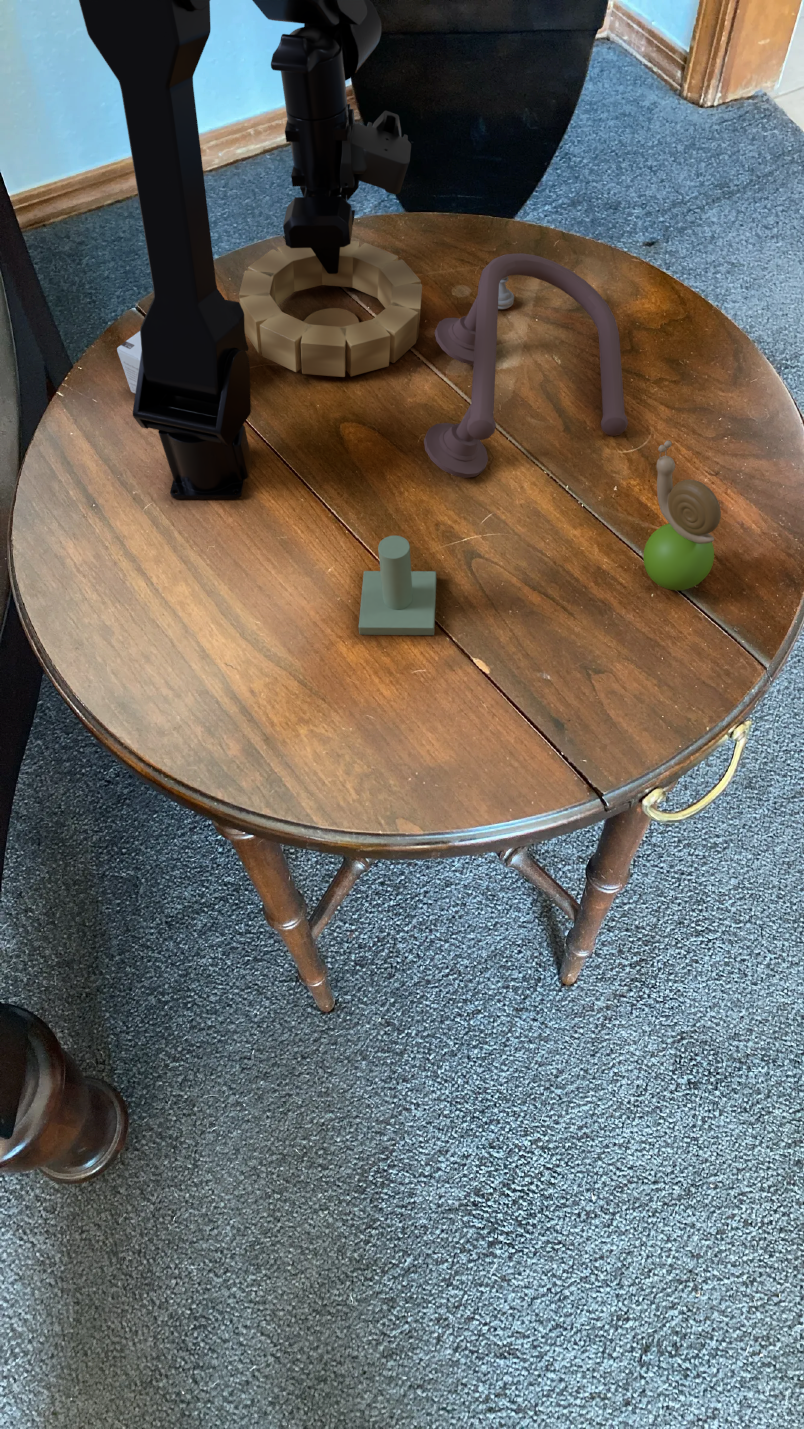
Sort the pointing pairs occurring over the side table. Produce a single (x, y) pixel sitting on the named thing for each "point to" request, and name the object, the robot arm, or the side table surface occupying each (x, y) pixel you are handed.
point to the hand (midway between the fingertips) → (334, 263)
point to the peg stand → (397, 594)
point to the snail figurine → (681, 530)
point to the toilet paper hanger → (477, 346)
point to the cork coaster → (332, 317)
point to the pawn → (504, 295)
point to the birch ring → (330, 344)
